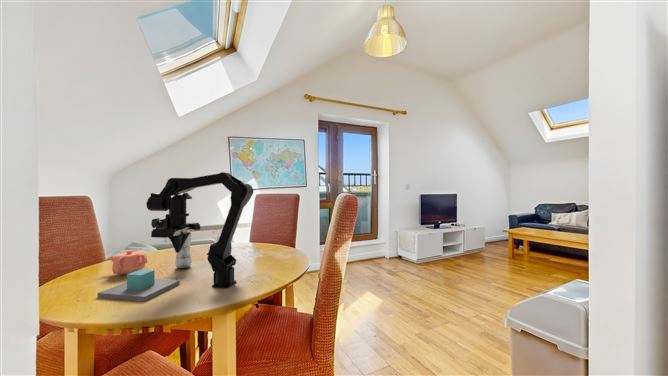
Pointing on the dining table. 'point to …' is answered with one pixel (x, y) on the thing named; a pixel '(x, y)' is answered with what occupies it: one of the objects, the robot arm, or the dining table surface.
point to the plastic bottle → (184, 255)
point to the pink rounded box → (128, 262)
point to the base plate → (138, 291)
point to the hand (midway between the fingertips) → (177, 252)
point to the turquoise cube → (140, 279)
